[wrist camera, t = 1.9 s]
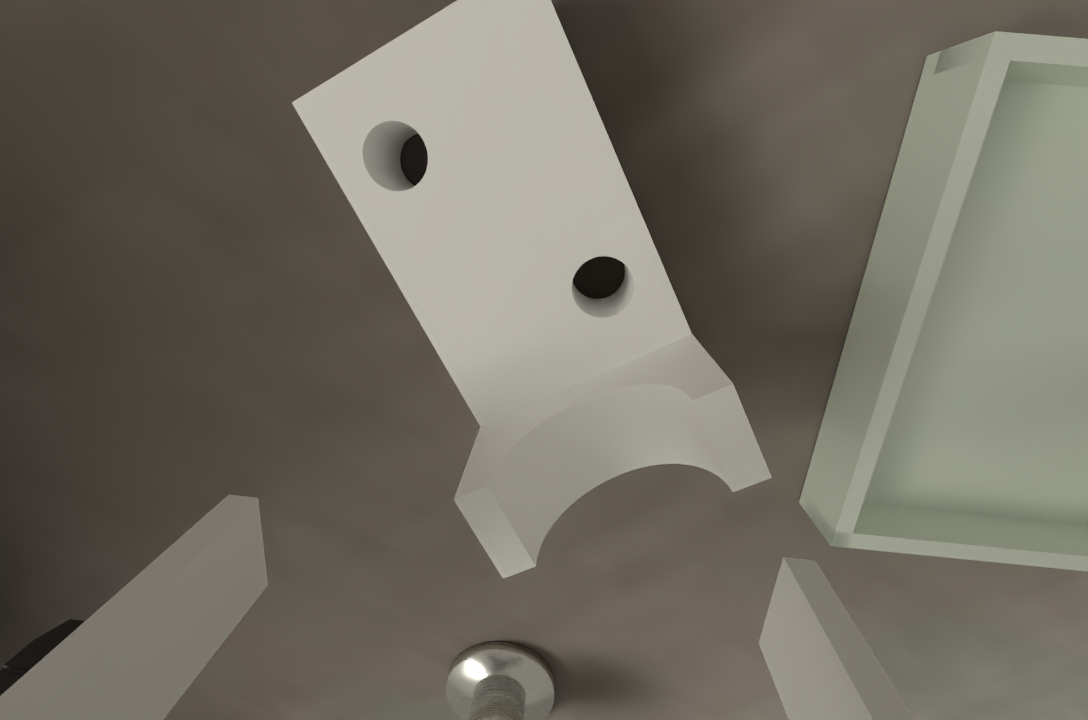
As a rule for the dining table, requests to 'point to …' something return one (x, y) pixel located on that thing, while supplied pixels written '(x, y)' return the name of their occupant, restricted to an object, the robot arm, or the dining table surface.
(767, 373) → the dining table surface
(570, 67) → the bracket
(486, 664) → the metal knob
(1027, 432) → the tray
